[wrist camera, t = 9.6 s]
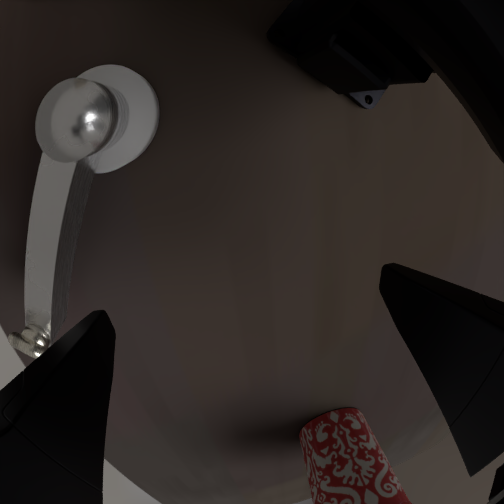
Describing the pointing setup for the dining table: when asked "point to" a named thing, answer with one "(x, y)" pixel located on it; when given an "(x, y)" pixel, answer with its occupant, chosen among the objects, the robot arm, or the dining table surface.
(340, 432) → the mug
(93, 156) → the crank
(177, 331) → the dining table surface
